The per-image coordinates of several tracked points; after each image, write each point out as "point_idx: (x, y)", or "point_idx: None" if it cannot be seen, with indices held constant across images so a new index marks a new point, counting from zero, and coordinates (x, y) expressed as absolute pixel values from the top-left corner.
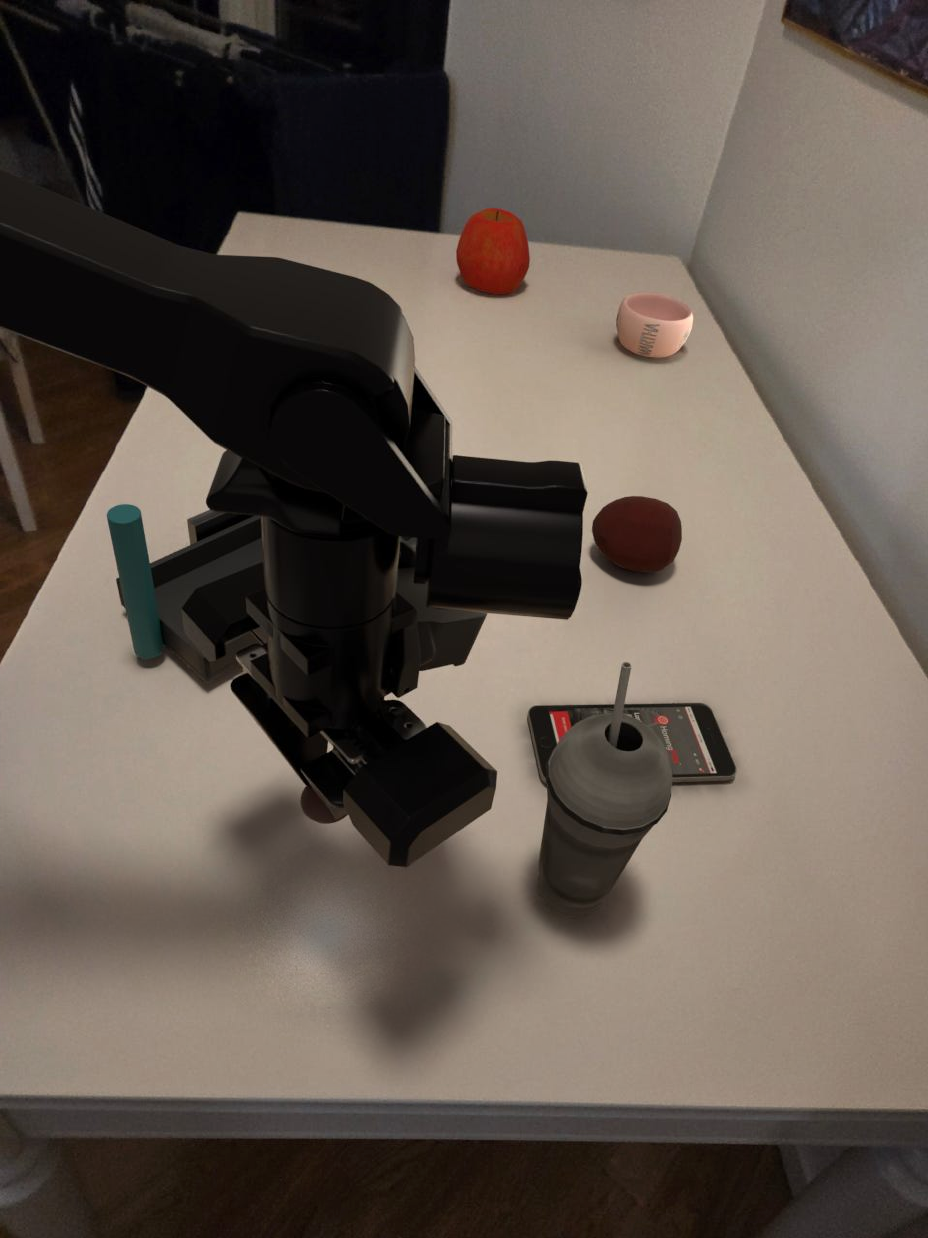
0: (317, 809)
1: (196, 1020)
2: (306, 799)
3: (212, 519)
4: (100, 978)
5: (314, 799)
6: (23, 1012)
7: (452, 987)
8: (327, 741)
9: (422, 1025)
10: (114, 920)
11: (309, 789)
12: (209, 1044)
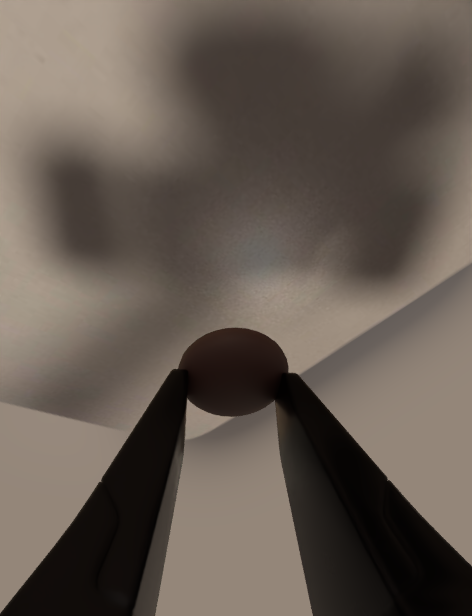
0: (248, 413)
1: None
2: (215, 414)
3: None
4: None
5: (228, 412)
6: None
7: (419, 198)
8: (173, 458)
9: (407, 249)
10: (111, 374)
11: (201, 406)
12: None
